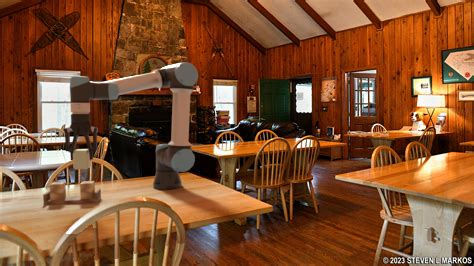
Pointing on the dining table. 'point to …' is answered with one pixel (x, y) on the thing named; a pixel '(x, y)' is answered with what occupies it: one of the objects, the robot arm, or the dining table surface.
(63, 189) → the cradle
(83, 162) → the beige rectangular block
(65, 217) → the dining table surface
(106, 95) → the robot arm
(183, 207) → the dining table surface
